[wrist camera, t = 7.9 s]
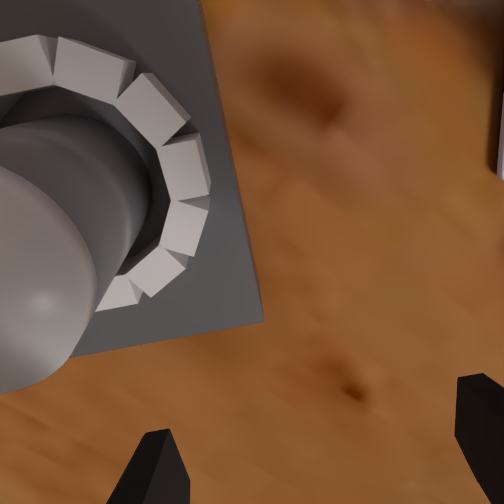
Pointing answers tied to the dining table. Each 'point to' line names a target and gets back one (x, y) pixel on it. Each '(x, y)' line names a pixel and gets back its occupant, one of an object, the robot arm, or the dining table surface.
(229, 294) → the grey flange plate
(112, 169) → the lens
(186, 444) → the dining table surface
